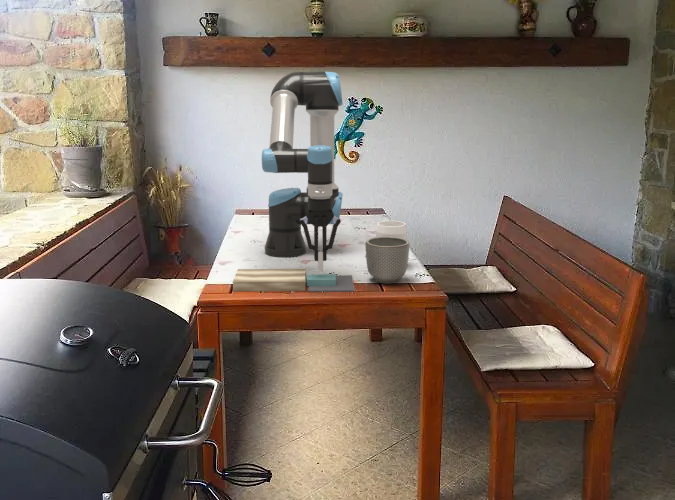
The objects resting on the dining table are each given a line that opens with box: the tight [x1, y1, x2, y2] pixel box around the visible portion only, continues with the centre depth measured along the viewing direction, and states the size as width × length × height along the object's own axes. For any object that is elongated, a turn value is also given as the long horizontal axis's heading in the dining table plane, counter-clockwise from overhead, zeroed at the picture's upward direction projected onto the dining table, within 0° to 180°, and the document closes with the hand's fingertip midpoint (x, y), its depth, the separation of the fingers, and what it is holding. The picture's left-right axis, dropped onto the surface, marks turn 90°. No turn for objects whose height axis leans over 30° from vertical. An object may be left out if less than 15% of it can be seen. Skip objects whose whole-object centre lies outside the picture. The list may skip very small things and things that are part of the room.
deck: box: [232, 268, 307, 292], centre depth 225 cm, size 14×22×3 cm, turn 92°
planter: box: [365, 236, 410, 285], centre depth 228 cm, size 14×14×13 cm
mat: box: [307, 274, 355, 293], centre depth 226 cm, size 16×14×1 cm
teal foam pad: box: [306, 273, 336, 287], centre depth 225 cm, size 9×6×2 cm, turn 91°
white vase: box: [375, 220, 408, 240], centre depth 244 cm, size 11×11×15 cm
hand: (320, 270), depth 225 cm, fingers closed
